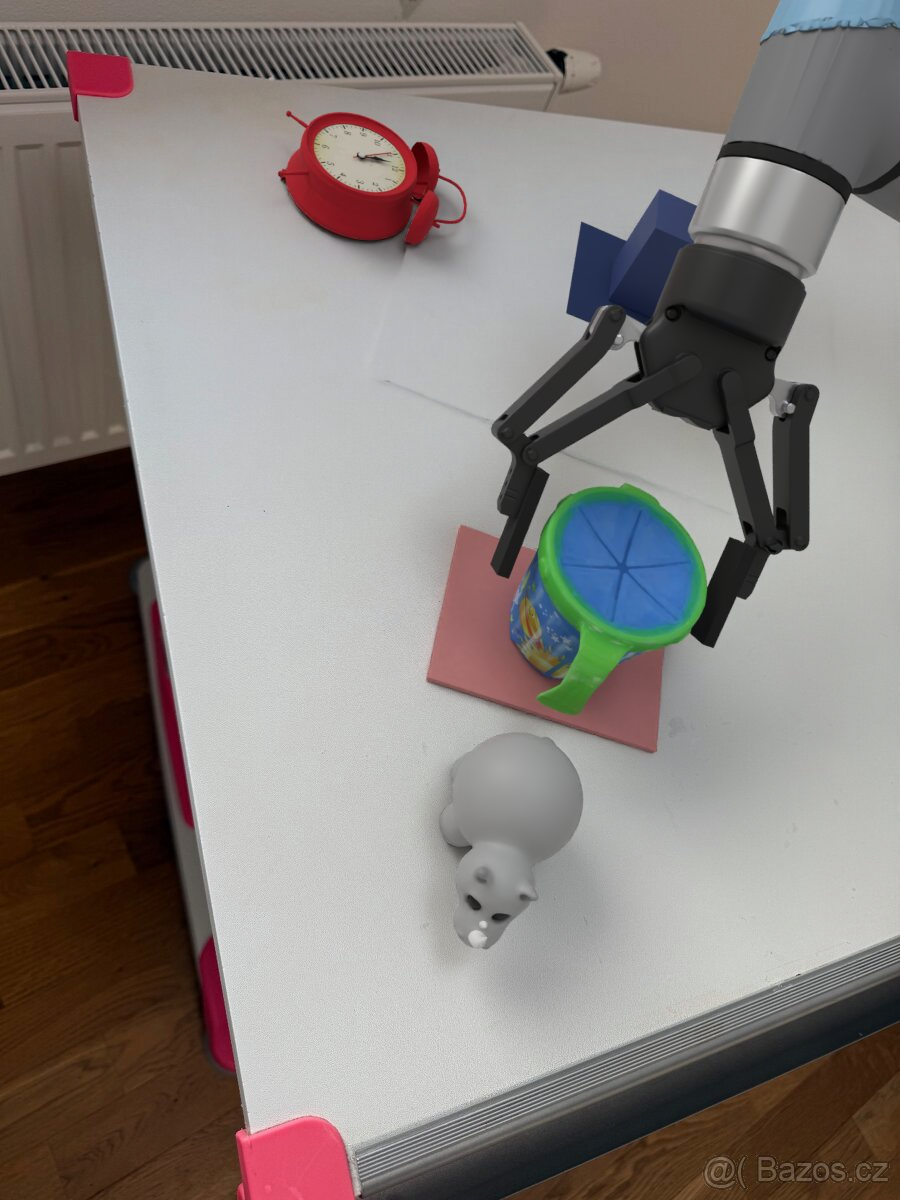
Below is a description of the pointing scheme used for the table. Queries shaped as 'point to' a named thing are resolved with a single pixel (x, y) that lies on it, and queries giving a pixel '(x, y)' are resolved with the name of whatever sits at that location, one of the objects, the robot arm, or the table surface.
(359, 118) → the alarm clock
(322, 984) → the table surface
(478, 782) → the chubby cartoon animal
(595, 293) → the navy mat
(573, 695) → the snack cup
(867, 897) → the table surface
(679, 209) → the navy block
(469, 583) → the rose mat
